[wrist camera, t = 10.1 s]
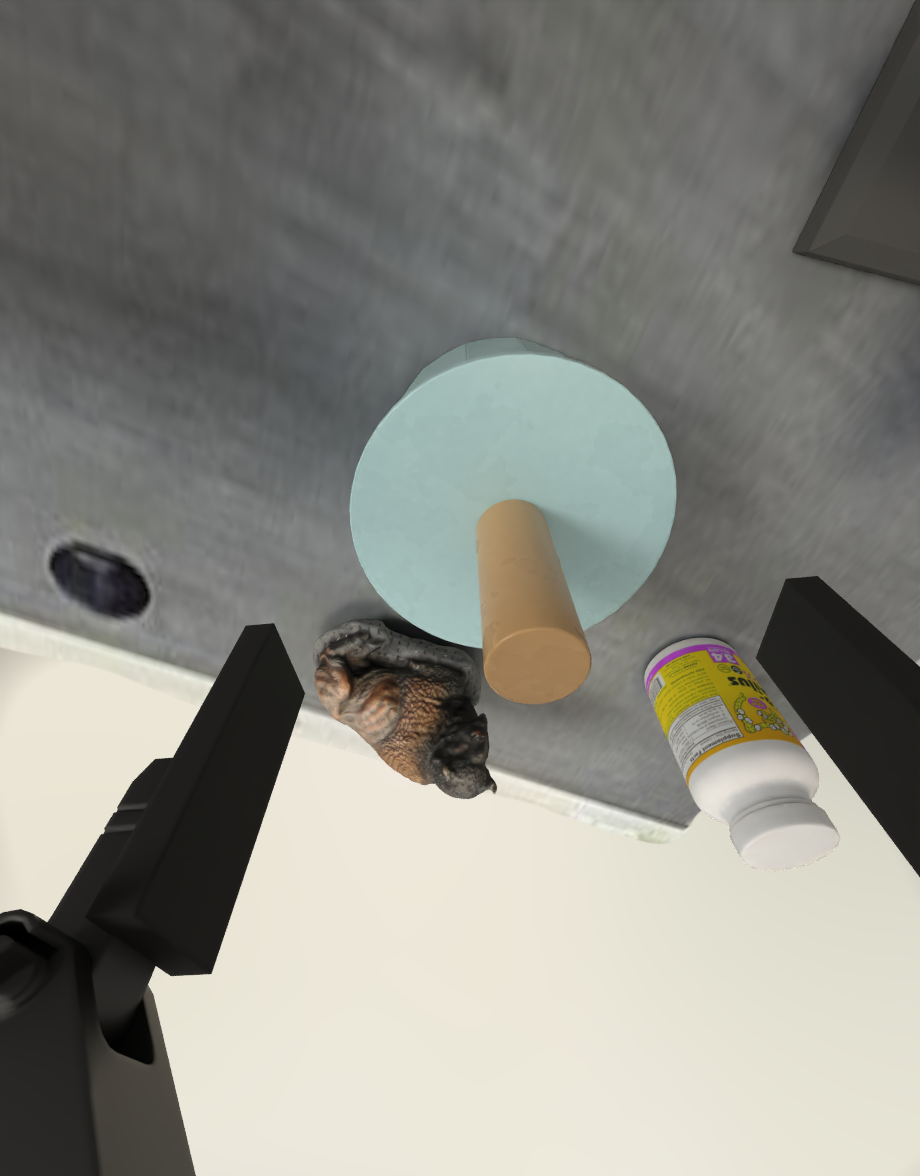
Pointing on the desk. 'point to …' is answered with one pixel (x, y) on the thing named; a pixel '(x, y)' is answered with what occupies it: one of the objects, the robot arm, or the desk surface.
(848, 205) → the faucet
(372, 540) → the lid
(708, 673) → the supplement bottle
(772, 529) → the desk surface
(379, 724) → the brown striped lumpy figure
